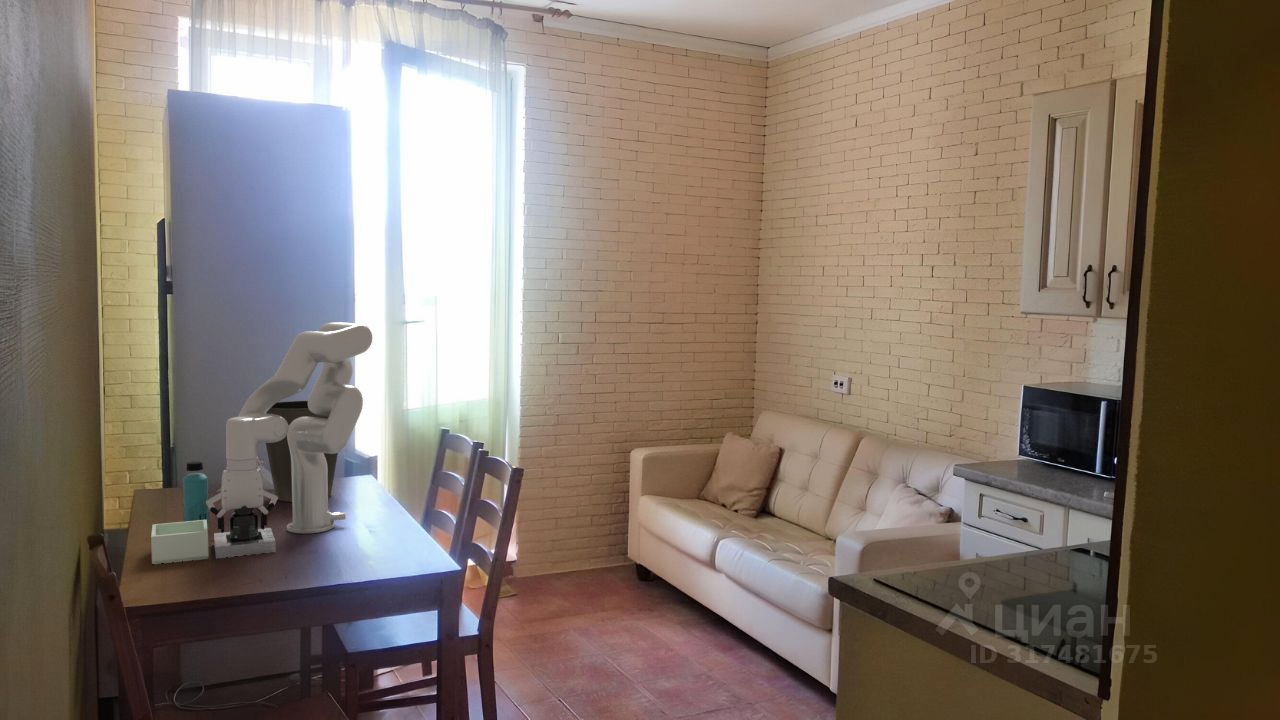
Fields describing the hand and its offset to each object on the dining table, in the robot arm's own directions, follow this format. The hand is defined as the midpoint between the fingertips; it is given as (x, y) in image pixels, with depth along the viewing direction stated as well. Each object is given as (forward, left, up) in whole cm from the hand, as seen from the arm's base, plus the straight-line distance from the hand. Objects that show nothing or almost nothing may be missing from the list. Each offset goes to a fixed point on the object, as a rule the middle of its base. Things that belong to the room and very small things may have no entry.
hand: (242, 530), depth 247 cm
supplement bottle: (0, 0, -5) cm, 5 cm away
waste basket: (-21, -55, -5) cm, 59 cm away
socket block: (0, 0, -5) cm, 5 cm away
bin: (+15, 0, -5) cm, 16 cm away
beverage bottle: (+11, -20, -5) cm, 23 cm away
